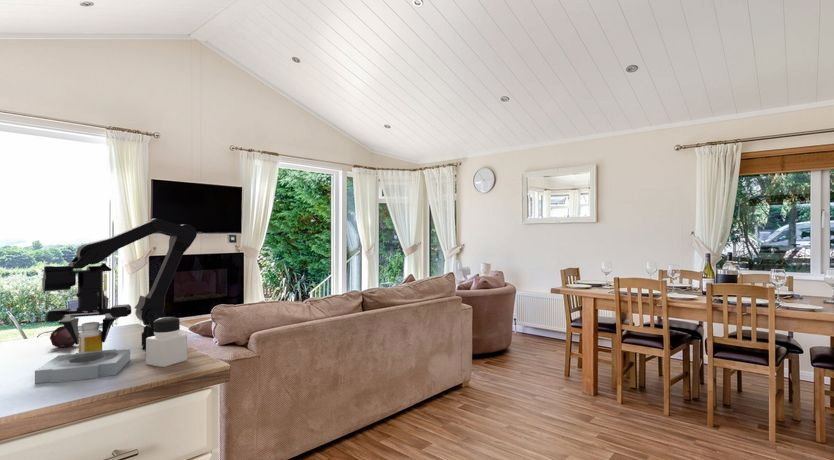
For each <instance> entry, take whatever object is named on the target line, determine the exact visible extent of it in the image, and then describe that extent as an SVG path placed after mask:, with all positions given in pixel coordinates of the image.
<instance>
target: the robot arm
mask: <svg viewBox="0 0 834 460" xmlns="http://www.w3.org/2000/svg"><path fill="white" fill-rule="evenodd" d="M154 233H159V234H162V235H165V236H168V237H169V238H168V250H167V252H166V253H165V257H164V259H163V261H162V264H161V265H160V268H159V270H158V272H157V274H156V277H155V279H154V282H153V284H152V286H151V288H150V290H149V292H148V293H147V294H146V295H145V296H144V295H140V296H139V298H138V302H137V304H136V305H135V306H134V309H135V316H136V317H137V319H138V320H139V321H141V322H142V324H143V326H144V327H143V331H142V332H141V349H142V350H146V338H148V337H152V336H155V335H154V321H155V320H157V319H159V318H164V317H168V316H167V315H165V314H164V309H165V305H166V295H167V293H168V290H169V288H170V285H171V283H172V281H173V279H174V276H175V274H176V272H177V269H178V267H179V264H180V262H181V260H182V258H183V255H184V253H185V252H186V251H187V250H188V249H189V248H190V247H191V245H192V244H193V243H194V241H195V240H196V237H197V235H198V231H197V229H196V228H195V227H194V226H193V225H192V224H178V223H174V222H171V221H166V220H163V219H161V218H159V217H158V218H151V219H149V220H148V221H145V222H144V223H141V224H139V225H136V226H135V227H132V228H130V229H128V230H125V231H123V232H121V233H118V234H115V235H113V236H111V237H108V238H105V239H104V238H103V239H100V240H96V241H91V242H88V243H85V244H81V246H79V247H78V248H77V249H76V255H75V257H74V258H73V259H72V260H71V261H70V262H69V264H68V265H57V266H56V265H55V266H54V265H45V266H43V272H42V277H41V285H42V286H41V287H42V292H43V293H44V292H57V291H58V292H59V291H69V290H71V289H72V287H75V286H76V283H77V292H76V298H77V307H76V309H74V310H73V309H71V307H61V308H53V309H51V310H49V311H48V312H46V314H45V322H46V323H49V322H51V323H52V322H58V324H59V325H62V326H64V327H65V328H66V329H67V330H68V332H69V333H70V335H71V337H72V339H73V340H74V342H75V344H74V345H78V346H79V333H80V331H79V320H80V318H81V317H95V316H96V317H97V316H104V317H105V318H103V319H102V325H101V327H102V329H101V331H102V343H105V342H106V340H107V337H108V335H109V332H110V330H111V327H112V325H113V324H114V322H115V321H116V320H118V319H119V318H124V317H128V316H130V315H131V314H132V306H131V304H115V305H113V306H111V307H109V297H107V296H105V290H104V272H111V271H112V268H111V267H110V266H108V265H107V264H106V263H105V262H102V261H104V260H105V259H107V258H109V257H110V256H111V255H113V254H114V253H115V252H117V251H118V250H119V249H121V248H124V247H126V246H129V245H130V244H132V243H135V242H136V241H139V240H142V239H143V238H146V237H148V236H150V235H153V234H154ZM101 262H102V263H101ZM99 263H101V264H100V265H97V264H99ZM85 267H86V269H83V268H85ZM76 274H77V275H76ZM76 277H77V278H76Z"/></svg>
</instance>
